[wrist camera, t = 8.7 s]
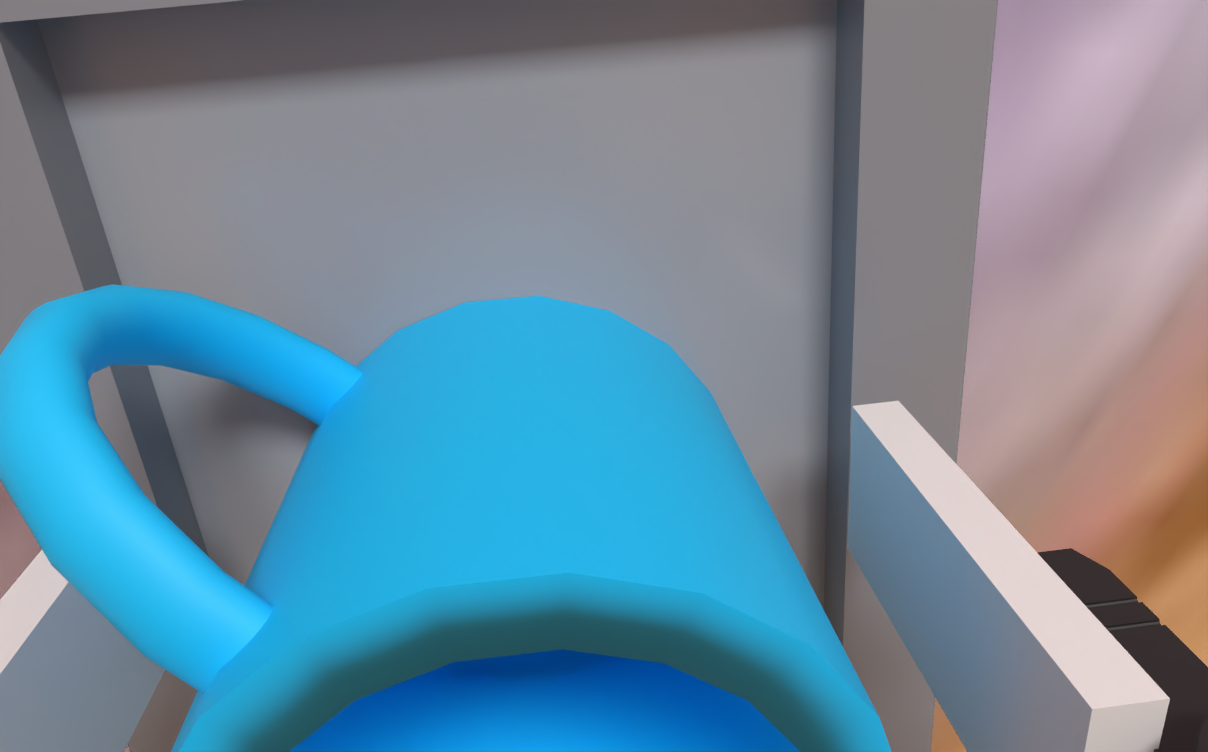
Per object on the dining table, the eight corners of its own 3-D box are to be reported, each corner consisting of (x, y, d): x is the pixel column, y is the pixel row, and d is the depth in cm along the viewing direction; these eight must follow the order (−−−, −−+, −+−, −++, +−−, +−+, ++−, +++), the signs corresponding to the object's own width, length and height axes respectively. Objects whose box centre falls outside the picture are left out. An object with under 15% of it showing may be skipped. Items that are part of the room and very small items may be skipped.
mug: (820, 468, 17) (1055, 821, 10) (550, 730, 19) (579, 1192, 12) (291, 35, 14) (25, 82, 6) (17, 416, 15) (-442, 810, 8)
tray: (236, 818, 22) (200, 924, 19) (-95, -114, 14) (-230, -135, 11) (879, 730, 23) (924, 823, 20) (933, -200, 14) (1019, -237, 12)
